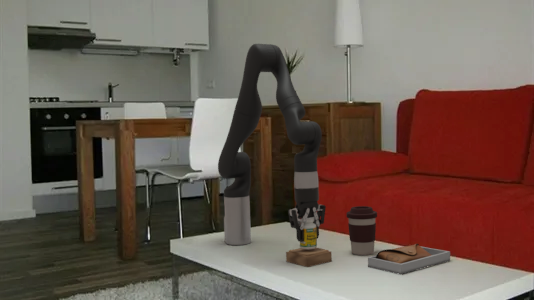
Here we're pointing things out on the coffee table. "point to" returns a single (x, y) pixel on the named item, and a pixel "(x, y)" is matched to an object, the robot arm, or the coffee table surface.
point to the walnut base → (308, 256)
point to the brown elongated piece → (403, 254)
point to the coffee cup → (362, 229)
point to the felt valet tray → (410, 262)
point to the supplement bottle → (309, 234)
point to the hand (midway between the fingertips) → (308, 239)
